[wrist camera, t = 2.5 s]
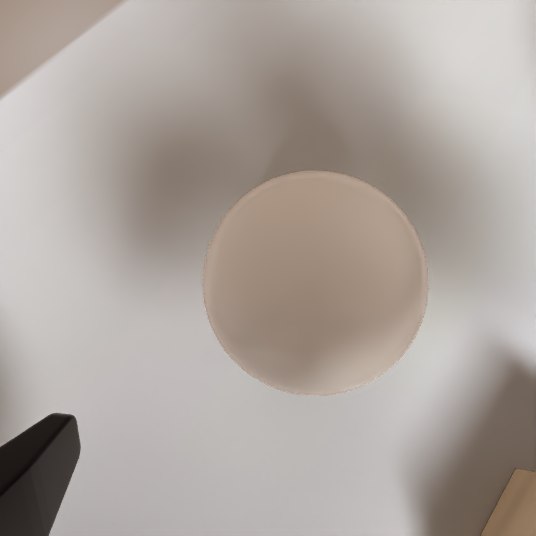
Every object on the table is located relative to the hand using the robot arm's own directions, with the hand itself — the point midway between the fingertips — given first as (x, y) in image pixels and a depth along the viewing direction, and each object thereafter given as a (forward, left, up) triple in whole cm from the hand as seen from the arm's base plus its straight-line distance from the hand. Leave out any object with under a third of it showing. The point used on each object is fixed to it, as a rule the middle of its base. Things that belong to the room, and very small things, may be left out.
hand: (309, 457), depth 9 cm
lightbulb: (+3, -3, -11) cm, 12 cm away
